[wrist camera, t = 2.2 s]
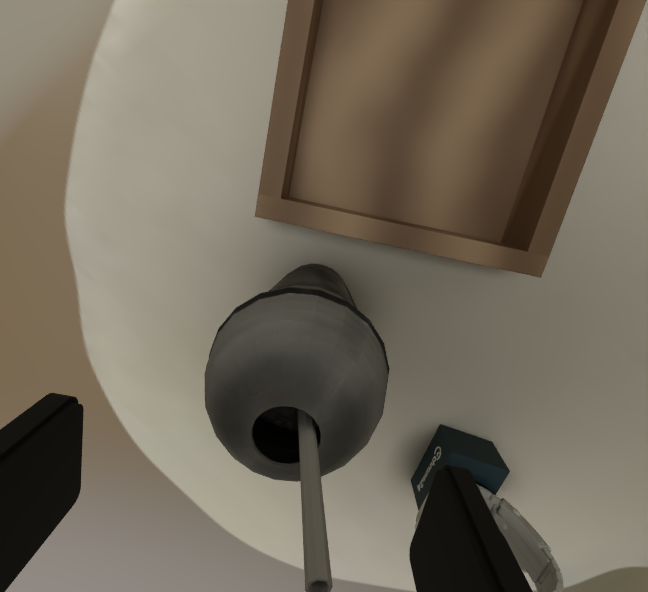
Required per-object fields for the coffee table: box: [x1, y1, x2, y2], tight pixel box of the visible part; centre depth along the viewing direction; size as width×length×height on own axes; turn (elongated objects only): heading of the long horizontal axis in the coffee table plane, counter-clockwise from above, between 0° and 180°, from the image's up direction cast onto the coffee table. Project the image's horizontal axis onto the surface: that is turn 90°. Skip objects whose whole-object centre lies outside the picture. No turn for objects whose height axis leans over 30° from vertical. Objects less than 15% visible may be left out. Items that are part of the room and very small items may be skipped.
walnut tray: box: [255, 0, 646, 277], centre depth 21 cm, size 16×16×4 cm
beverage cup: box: [205, 264, 389, 592], centre depth 17 cm, size 7×7×20 cm
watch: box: [411, 424, 563, 592], centre depth 24 cm, size 6×8×11 cm
